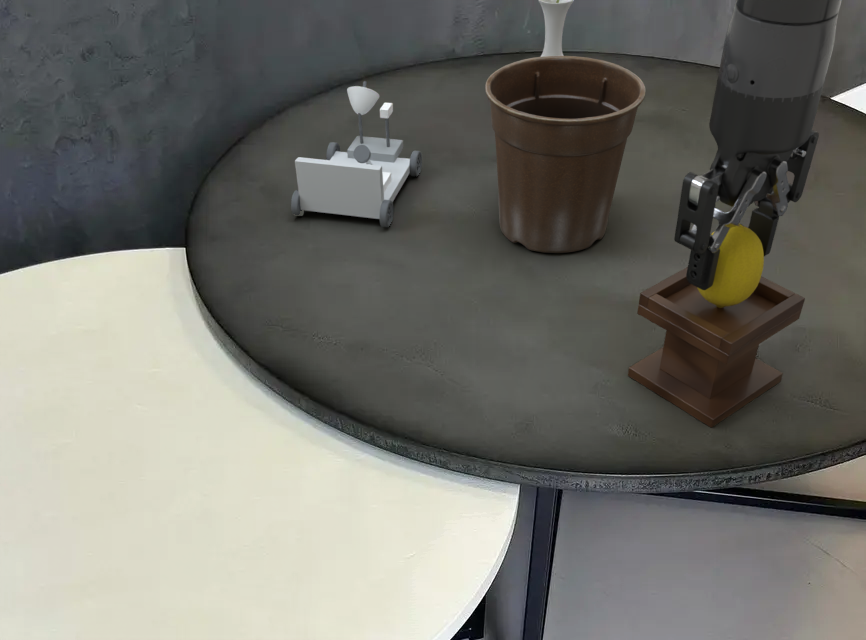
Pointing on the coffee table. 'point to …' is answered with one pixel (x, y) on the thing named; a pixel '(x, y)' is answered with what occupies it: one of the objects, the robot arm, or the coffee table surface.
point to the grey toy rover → (356, 171)
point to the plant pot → (560, 147)
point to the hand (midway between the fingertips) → (728, 268)
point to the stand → (712, 346)
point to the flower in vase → (554, 25)
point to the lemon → (736, 268)
